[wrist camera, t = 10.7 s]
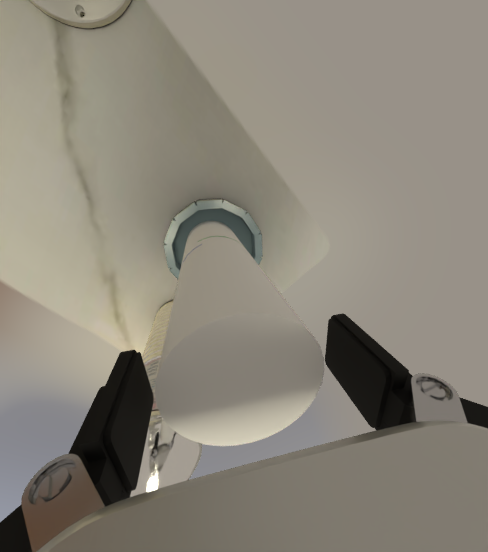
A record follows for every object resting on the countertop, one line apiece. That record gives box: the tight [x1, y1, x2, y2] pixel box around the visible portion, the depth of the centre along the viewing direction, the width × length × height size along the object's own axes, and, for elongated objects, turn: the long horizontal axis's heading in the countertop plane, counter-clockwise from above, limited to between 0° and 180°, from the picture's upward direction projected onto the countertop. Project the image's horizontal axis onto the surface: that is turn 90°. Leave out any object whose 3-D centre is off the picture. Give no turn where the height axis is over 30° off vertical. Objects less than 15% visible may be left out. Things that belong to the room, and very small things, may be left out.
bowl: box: [164, 199, 262, 279], centre depth 32 cm, size 13×13×3 cm
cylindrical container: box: [155, 221, 324, 446], centre depth 21 cm, size 7×7×25 cm
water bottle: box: [130, 301, 202, 497], centre depth 25 cm, size 7×7×25 cm
